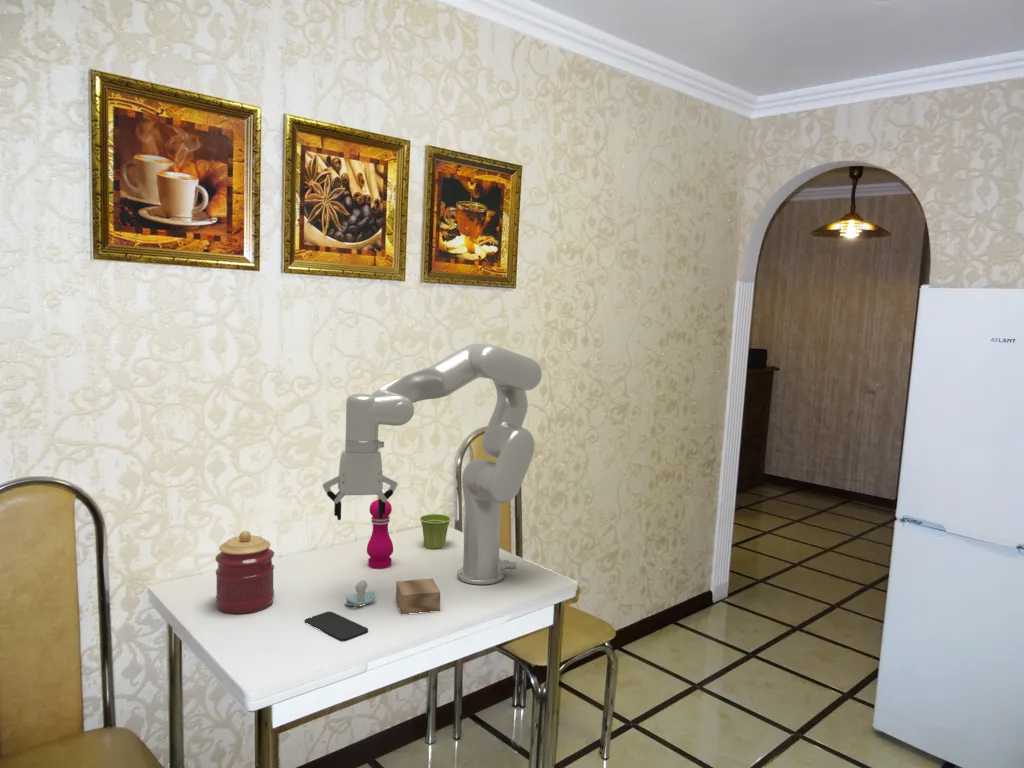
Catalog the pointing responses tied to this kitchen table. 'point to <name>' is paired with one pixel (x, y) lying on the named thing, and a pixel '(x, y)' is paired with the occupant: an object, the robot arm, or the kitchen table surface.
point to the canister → (244, 574)
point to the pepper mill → (380, 538)
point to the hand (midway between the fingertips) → (359, 517)
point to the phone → (337, 626)
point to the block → (417, 596)
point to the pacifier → (360, 595)
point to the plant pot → (434, 530)
